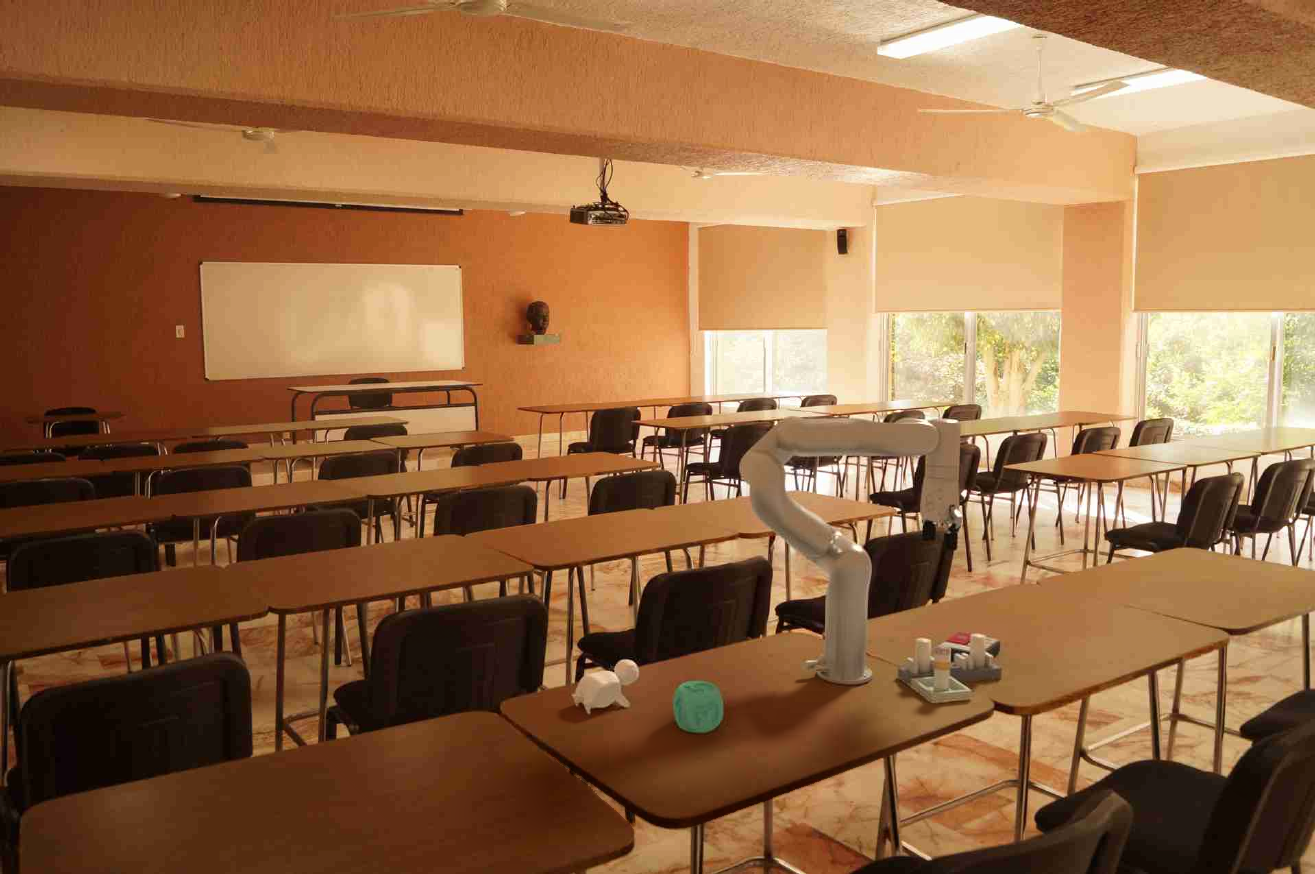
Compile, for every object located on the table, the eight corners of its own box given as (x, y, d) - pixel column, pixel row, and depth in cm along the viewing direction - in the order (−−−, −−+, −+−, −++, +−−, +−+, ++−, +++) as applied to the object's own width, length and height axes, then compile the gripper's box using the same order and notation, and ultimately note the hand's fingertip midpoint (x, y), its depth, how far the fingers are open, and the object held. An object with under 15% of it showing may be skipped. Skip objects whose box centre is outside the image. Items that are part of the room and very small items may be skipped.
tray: (932, 703, 210) (932, 694, 210) (910, 688, 219) (911, 678, 219) (971, 700, 213) (971, 690, 212) (948, 684, 222) (949, 675, 221)
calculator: (1001, 638, 244) (982, 652, 231) (1000, 655, 244) (981, 669, 232) (957, 630, 250) (937, 643, 238) (956, 646, 250) (936, 660, 238)
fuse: (938, 694, 214) (939, 650, 213) (930, 689, 217) (931, 645, 216) (952, 693, 215) (954, 649, 214) (944, 687, 218) (945, 644, 217)
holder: (910, 687, 220) (911, 646, 219) (897, 677, 226) (899, 637, 225) (1001, 678, 225) (1002, 638, 224) (986, 669, 231) (988, 630, 230)
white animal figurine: (597, 729, 204) (653, 690, 211) (584, 696, 202) (640, 657, 209) (577, 715, 212) (632, 678, 219) (564, 683, 209) (620, 646, 216)
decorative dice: (672, 720, 202) (672, 683, 201) (707, 715, 204) (708, 678, 203) (687, 736, 194) (687, 697, 193) (723, 730, 197) (724, 692, 196)
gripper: (909, 467, 232) (906, 538, 234) (946, 479, 215) (943, 554, 217) (937, 466, 234) (934, 536, 236) (977, 477, 217) (974, 553, 219)
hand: (939, 545), depth 227 cm, fingers open, 9 cm apart
